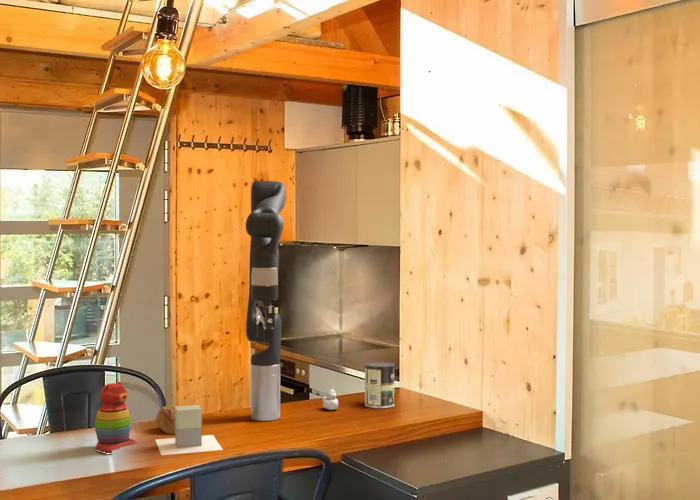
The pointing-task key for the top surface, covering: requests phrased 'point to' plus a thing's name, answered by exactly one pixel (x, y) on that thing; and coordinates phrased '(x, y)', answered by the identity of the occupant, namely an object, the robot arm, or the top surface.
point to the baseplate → (170, 447)
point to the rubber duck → (330, 400)
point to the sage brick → (188, 417)
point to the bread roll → (166, 419)
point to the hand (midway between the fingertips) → (264, 340)
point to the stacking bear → (113, 419)
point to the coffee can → (379, 384)
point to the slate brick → (188, 437)
